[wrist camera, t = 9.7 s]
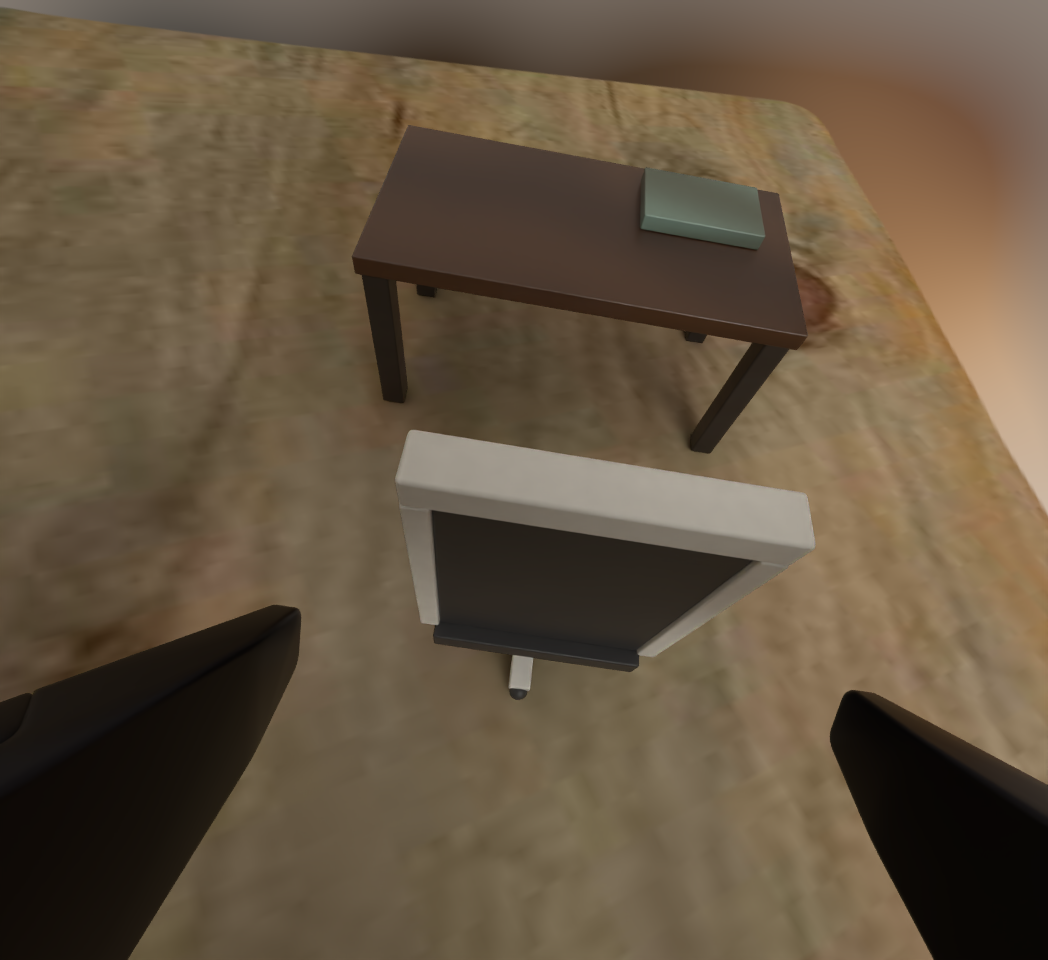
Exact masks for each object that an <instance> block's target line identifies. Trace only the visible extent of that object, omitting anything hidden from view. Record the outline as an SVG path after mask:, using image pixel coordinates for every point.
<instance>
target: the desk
mask: <svg viewBox="0 0 1048 960" xmlns="http://www.w3.org/2000/svg"><path fill="white" fill-rule="evenodd" d="M352 259H353V264H354V270H355V273H356V274H360V275H362V279H363V285H364V291H365V297H366V302H367V308H368V314H369V319H370V325H371V331H372V336H373V342H374V348H375V353H376V359H377V365H378V370H379V376H380V382H381V388H382V393H383V399H384V400H387V401H393V402H399V403H403V402H404V400H405V396H406V393H407V389H408V385H407V376H406V367H405V358H404V349H403V340H402V331H401V322H400V313H399V304H398V295H397V286H396V281H401V282H406V283H412V284H416V285H417V294H419V295H425V296H431V297H435V294H436V291H437V288H441V289H447V290H452V291H458V292H464V293H470V294H475V295H481V296H487V297H493V298H498V299H504V300H510V301H516V302H522V303H527V304H533V305H539V306H545V307H550V308H556V309H562V310H568V311H573V312H579V313H585V314H591V315H596V316H602V317H608V318H614V319H620V320H625V321H631V322H637V323H643V324H648V325H654V326H660V327H666V328H671V329H677V330H683V331H686V340H687V341H693V342H699V343H703V341H704V339H705V337H706V336H707V335H712V336H717V337H723V338H729V339H735V340H741V341H746V342H752V344H751V346H750V347H749V349H748V350H747V352H746V353H745V355H744V356H743V358H742V359H741V361H740V362H739V364H738V365H737V366H736V368H735V369H734V371H733V372H732V374H731V375H730V377H729V378H728V380H727V381H726V383H725V384H724V386H723V387H722V389H721V390H720V392H719V393H718V395H717V396H716V398H715V399H714V401H713V402H712V404H711V405H710V407H709V408H708V410H707V411H706V413H705V414H704V416H703V417H702V419H701V420H700V422H699V423H698V425H697V426H696V428H695V429H694V431H693V432H692V434H691V450H693V451H698V452H704V453H711V451H712V450H713V449H714V447H715V446H716V445H717V443H718V442H719V441H720V440H721V438H722V437H723V436H724V434H725V433H726V432H727V430H728V429H729V428H730V426H731V425H732V424H733V422H734V421H735V420H736V419H737V417H738V416H739V415H740V413H741V412H742V411H743V409H744V408H745V407H746V405H747V404H748V403H749V401H750V400H751V399H752V398H753V396H754V395H755V394H756V392H757V391H758V390H759V388H760V387H761V386H762V384H763V383H764V382H765V381H766V379H767V378H768V377H769V375H770V374H771V373H772V371H773V370H774V369H775V367H776V366H777V365H778V363H779V362H780V361H781V360H782V358H783V357H784V356H785V354H786V353H787V352H788V350H789V349H792V350H797V349H798V348H799V347H800V346H801V344H802V343H803V342H804V341H805V339H806V338H807V336H808V334H807V329H806V324H805V319H804V314H803V309H802V305H801V300H800V295H799V290H798V285H797V280H796V275H795V271H794V266H793V261H792V256H791V251H790V246H789V242H788V237H787V232H786V227H785V222H784V217H783V212H782V208H781V203H780V198H779V194H778V193H773V192H768V191H762V190H757V188H755V187H749V186H744V185H739V184H733V183H728V182H722V181H717V180H712V179H706V178H701V177H695V176H690V175H685V174H679V173H674V172H668V171H663V170H658V169H652V168H647V167H646V168H645V169H643V168H638V167H633V166H627V165H622V164H616V163H611V162H606V161H600V160H595V159H589V158H584V157H579V156H573V155H568V154H562V153H557V152H552V151H546V150H541V149H535V148H530V147H525V146H519V145H514V144H508V143H503V142H498V141H492V140H487V139H481V138H476V137H471V136H465V135H460V134H454V133H449V132H443V131H438V130H433V129H427V128H422V127H416V126H411V125H408V127H407V130H406V132H405V134H404V137H403V139H402V141H401V144H400V146H399V148H398V151H397V153H396V155H395V157H394V160H393V162H392V164H391V167H390V169H389V171H388V174H387V176H386V178H385V181H384V183H383V185H382V188H381V190H380V192H379V195H378V197H377V199H376V202H375V204H374V206H373V209H372V211H371V213H370V216H369V218H368V220H367V223H366V225H365V227H364V230H363V232H362V234H361V237H360V239H359V241H358V244H357V246H356V248H355V250H354V253H353V255H352Z"/></svg>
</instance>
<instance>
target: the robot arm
mask: <svg viewBox="0 0 1048 960" xmlns="http://www.w3.org/2000/svg"><path fill="white" fill-rule="evenodd" d="M300 629H301V613H300V611H299V609H298V608H295V607H288V606H281V605H271V606H268V607H265V608H263V609H260V610H257V611H254V612H252V613H249V614H246V615H243V616H240V617H238V618H235V619H232V620H229V621H226V622H224V623H221V624H218V625H215V626H212V627H210V628H207V629H204V630H201V631H198V632H196V633H193V634H190V635H187V636H185V637H182V638H179V639H176V640H173V641H171V642H168V643H165V644H162V645H159V646H157V647H154V648H151V649H148V650H145V651H143V652H140V653H137V654H134V655H131V656H129V657H126V658H123V659H120V660H118V661H115V662H112V663H109V664H106V665H104V666H101V667H98V668H95V669H92V670H90V671H87V672H84V673H81V674H78V675H76V676H73V677H70V678H67V679H64V680H62V681H59V682H56V683H53V684H51V685H48V686H45V687H42V688H39V689H37V690H35V691H34V692H33V694H30V693H25V694H22V695H19V696H17V697H14V698H11V699H8V700H6V701H3V702H0V960H128V958H129V957H130V955H131V953H132V952H133V950H134V948H135V947H136V945H137V944H138V942H139V940H140V939H141V937H142V936H143V934H144V932H145V931H146V929H147V927H148V926H149V924H150V923H151V921H152V919H153V918H154V916H155V915H156V913H157V911H158V910H159V908H160V906H161V905H162V903H163V902H164V900H165V898H166V897H167V895H168V894H169V892H170V890H171V889H172V887H173V885H174V884H175V882H176V881H177V879H178V877H179V876H180V874H181V873H182V871H183V869H184V868H185V866H186V865H187V863H188V861H189V860H190V858H191V856H192V855H193V853H194V852H195V850H196V848H197V847H198V845H199V844H200V842H201V840H202V839H203V837H204V835H205V834H206V832H207V831H208V829H209V827H210V826H211V824H212V823H213V821H214V819H215V818H216V816H217V814H218V813H219V811H220V810H221V808H222V806H223V805H224V803H225V802H226V800H227V798H228V797H229V795H230V793H231V792H232V790H233V789H234V787H235V785H236V784H237V782H238V781H239V779H240V777H241V776H242V774H243V772H244V771H245V769H246V767H247V766H248V764H249V762H250V761H251V759H252V757H253V755H254V753H255V751H256V749H257V747H258V745H259V743H260V741H261V739H262V737H263V735H264V733H265V731H266V729H267V727H268V725H269V723H270V721H271V718H272V716H273V714H274V712H275V710H276V708H277V706H278V704H279V702H280V700H281V697H282V695H283V693H284V691H285V689H286V687H287V685H288V683H289V681H290V679H291V677H292V674H293V672H294V670H295V668H296V665H297V661H298V656H299V644H300ZM830 743H831V747H832V750H833V752H834V754H835V757H836V759H837V762H838V764H839V766H840V769H841V771H842V773H843V776H844V778H845V780H846V783H847V785H848V787H849V790H850V792H851V795H852V797H853V799H854V802H855V804H856V806H857V809H858V811H859V813H860V816H861V818H862V820H863V823H864V825H865V827H866V830H867V832H868V834H869V836H870V838H871V841H872V843H873V845H874V847H875V849H876V851H877V853H878V855H879V857H880V859H881V861H882V862H883V864H884V866H885V868H886V870H887V872H888V874H889V876H890V878H891V879H892V881H893V883H894V885H895V887H896V889H897V891H898V893H899V895H900V897H901V898H902V900H903V902H904V904H905V906H906V908H907V910H908V912H909V914H910V915H911V917H912V919H913V921H914V923H915V925H916V927H917V929H918V931H919V933H920V934H921V936H922V938H923V940H924V942H925V944H926V946H927V948H928V950H929V951H930V953H931V955H932V957H933V959H934V960H1048V785H1047V784H1045V783H1043V782H1041V781H1039V780H1037V779H1035V778H1033V777H1032V776H1030V775H1028V774H1026V773H1024V772H1022V771H1020V770H1018V769H1016V768H1015V767H1013V766H1011V765H1009V764H1007V763H1005V762H1003V761H1001V760H1000V759H998V758H996V757H994V756H992V755H990V754H988V753H986V752H985V751H983V750H981V749H979V748H977V747H975V746H973V745H971V744H969V743H968V742H966V741H964V740H962V739H960V738H958V737H956V736H954V735H953V734H951V733H949V732H947V731H945V730H943V729H941V728H939V727H938V726H936V725H934V724H932V723H930V722H928V721H926V720H924V719H923V718H921V717H919V716H917V715H915V714H913V713H911V712H909V711H907V710H906V709H904V708H902V707H900V706H898V705H896V704H894V703H892V702H891V701H889V700H887V699H885V698H883V697H881V696H879V695H877V694H875V693H871V692H864V691H857V690H850V691H848V692H846V693H845V694H844V696H843V698H842V700H841V703H840V706H839V708H838V711H837V714H836V717H835V720H834V722H833V725H832V728H831V731H830Z"/></svg>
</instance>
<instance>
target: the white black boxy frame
mask: <svg viewBox="0 0 1048 960" xmlns="http://www.w3.org/2000/svg"><path fill="white" fill-rule="evenodd" d="M395 483H396V488H397V494H398V499H399V508H400V514H401V519H402V524H403V530H404V535H405V540H406V546H407V551H408V556H409V562H410V567H411V572H412V578H413V583H414V588H415V594H416V599H417V604H418V609H419V615H420V620H421V623H425V624H432V625H435V629H434V634H433V637H434V643H435V644H442V645H448V646H455V647H462V648H469V649H476V650H483V651H489V652H496V653H503V654H510V655H512V661H511V669H510V677H509V685H508V688H509V692H510V695H511V696H512V698H514V699H516V700H521V699H523V698H524V697H525V696H526V694H527V691H529V690H530V685H531V675H532V666H533V658H537V659H544V660H551V661H558V662H565V663H571V664H578V665H585V666H592V667H599V668H606V669H612V670H619V671H626V672H631V671H633V670H634V669H636V668H637V667H638V666H639V655H641V656H648V657H655V656H656V655H658V654H659V653H661V652H662V651H664V650H665V649H667V648H668V647H670V646H671V645H673V644H674V643H676V642H677V641H679V640H680V639H682V638H683V637H685V636H686V635H688V634H689V633H691V632H692V631H694V630H695V629H697V628H698V627H700V626H701V625H703V624H704V623H706V622H707V621H709V620H710V619H712V618H713V617H715V616H716V615H718V614H719V613H721V612H722V611H724V610H725V609H727V608H728V607H730V606H731V605H733V604H734V603H736V602H737V601H739V600H740V599H742V598H743V597H745V596H746V595H748V594H749V593H751V592H752V591H754V590H756V589H757V588H759V587H760V586H762V585H763V584H765V583H766V582H768V581H769V580H771V579H772V578H774V577H775V576H777V575H778V574H780V573H781V572H783V571H784V570H786V569H787V568H788V565H791V564H793V563H794V562H796V561H797V560H799V559H800V558H802V557H803V556H805V555H806V554H808V553H809V552H811V551H812V550H814V548H815V538H814V532H813V526H812V521H811V515H810V509H809V503H808V497H807V495H806V494H805V493H802V492H796V491H790V490H783V489H777V488H771V487H765V486H759V485H753V484H746V483H740V482H734V481H728V480H722V479H715V478H709V477H703V476H697V475H691V474H685V473H678V472H672V471H666V470H660V469H654V468H648V467H641V466H635V465H629V464H623V463H617V462H611V461H604V460H598V459H592V458H586V457H580V456H573V455H567V454H561V453H555V452H549V451H543V450H536V449H530V448H524V447H518V446H512V445H506V444H499V443H493V442H487V441H481V440H475V439H469V438H462V437H456V436H450V435H444V434H438V433H431V432H425V431H419V430H410V431H409V433H408V434H407V438H406V441H405V445H404V448H403V452H402V456H401V459H400V463H399V467H398V470H397V474H396V477H395Z"/></svg>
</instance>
